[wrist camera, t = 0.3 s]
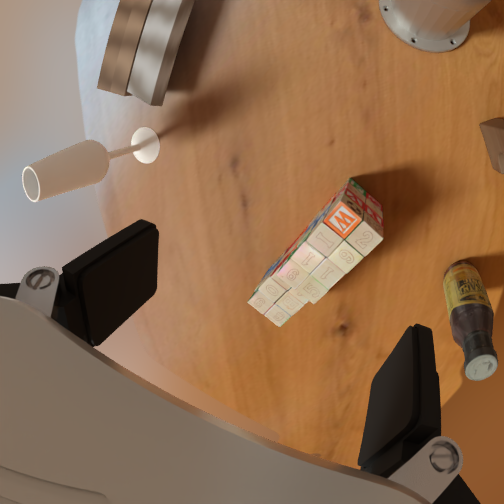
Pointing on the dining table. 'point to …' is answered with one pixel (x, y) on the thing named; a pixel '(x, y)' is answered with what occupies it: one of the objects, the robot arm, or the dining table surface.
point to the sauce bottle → (470, 319)
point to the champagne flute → (82, 165)
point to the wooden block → (494, 142)
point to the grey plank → (158, 49)
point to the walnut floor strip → (123, 45)
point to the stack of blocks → (321, 253)
